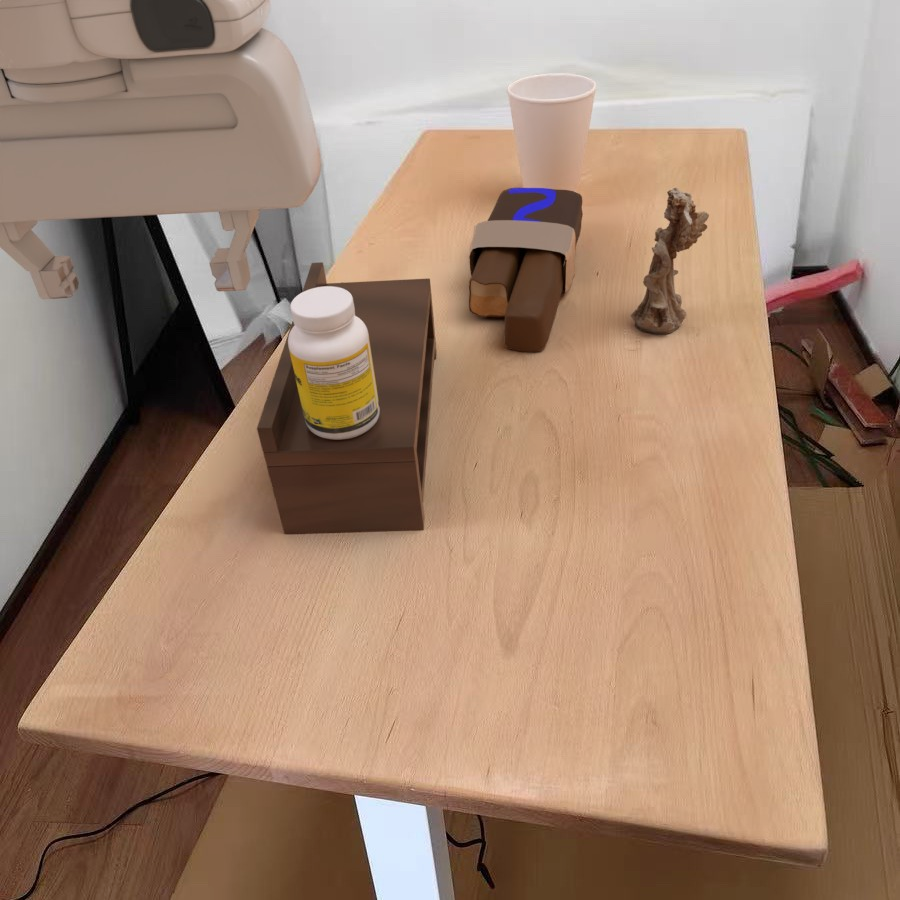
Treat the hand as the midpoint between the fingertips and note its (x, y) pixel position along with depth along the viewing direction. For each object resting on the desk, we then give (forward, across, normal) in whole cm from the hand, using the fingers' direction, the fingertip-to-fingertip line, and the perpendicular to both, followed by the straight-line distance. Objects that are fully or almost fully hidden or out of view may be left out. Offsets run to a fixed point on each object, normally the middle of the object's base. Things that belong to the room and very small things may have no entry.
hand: (147, 290), depth 46 cm
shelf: (+29, +6, +27) cm, 40 cm away
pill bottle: (+21, +6, +16) cm, 27 cm away
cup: (+28, +27, +80) cm, 89 cm away
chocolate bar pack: (+29, +22, +55) cm, 65 cm away
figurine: (+29, +37, +45) cm, 65 cm away
